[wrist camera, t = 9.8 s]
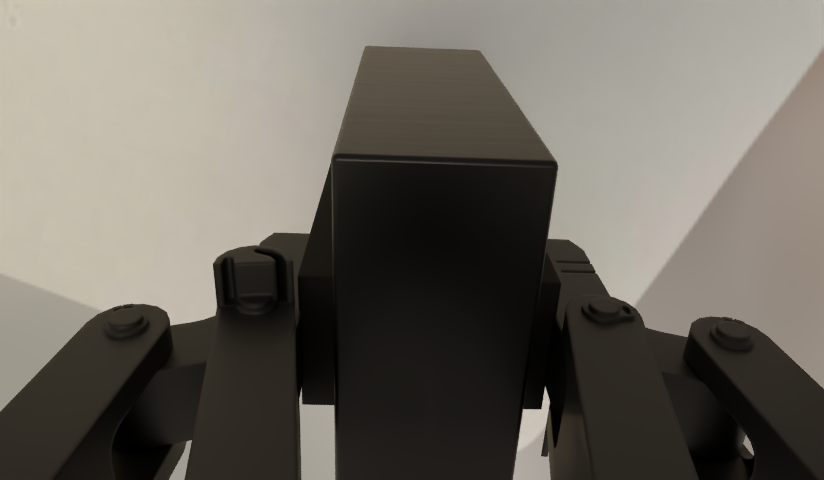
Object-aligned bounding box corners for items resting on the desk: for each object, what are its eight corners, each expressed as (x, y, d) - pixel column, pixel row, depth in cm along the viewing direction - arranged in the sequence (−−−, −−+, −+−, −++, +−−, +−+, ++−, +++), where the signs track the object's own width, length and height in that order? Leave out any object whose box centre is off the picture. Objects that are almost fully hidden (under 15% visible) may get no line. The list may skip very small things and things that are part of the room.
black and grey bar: (364, 45, 16) (330, 154, 8) (481, 49, 17) (560, 162, 8) (359, 550, 24) (339, 858, 16) (438, 551, 24) (458, 858, 16)
